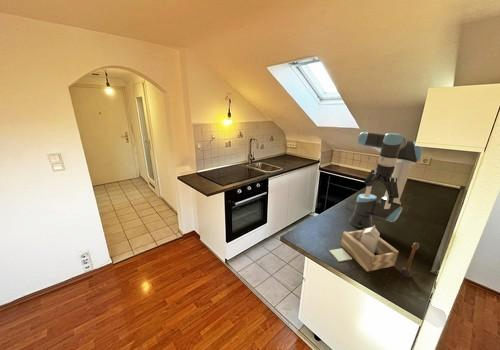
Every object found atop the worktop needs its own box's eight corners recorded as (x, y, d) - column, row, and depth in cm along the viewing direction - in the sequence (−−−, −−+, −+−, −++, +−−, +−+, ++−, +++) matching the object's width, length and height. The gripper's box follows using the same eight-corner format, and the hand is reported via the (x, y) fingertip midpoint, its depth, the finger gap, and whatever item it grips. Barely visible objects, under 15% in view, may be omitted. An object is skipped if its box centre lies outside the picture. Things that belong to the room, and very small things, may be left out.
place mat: (342, 248, 126) (342, 248, 126) (352, 259, 118) (352, 258, 118) (329, 251, 124) (329, 250, 124) (338, 261, 116) (338, 261, 116)
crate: (364, 241, 134) (367, 228, 131) (393, 265, 114) (398, 251, 111) (340, 244, 130) (343, 231, 127) (367, 271, 110) (371, 256, 107)
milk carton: (357, 254, 122) (364, 227, 116) (361, 249, 127) (368, 222, 120) (370, 261, 117) (378, 232, 111) (373, 255, 122) (381, 227, 116)
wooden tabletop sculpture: (402, 268, 113) (413, 238, 106) (412, 274, 109) (424, 243, 102) (398, 273, 109) (409, 242, 102) (408, 279, 106) (420, 247, 99)
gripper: (361, 158, 114) (354, 193, 121) (402, 173, 91) (390, 214, 99) (373, 157, 116) (365, 192, 123) (415, 172, 93) (402, 213, 100)
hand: (376, 202), depth 111 cm, fingers open, 13 cm apart
